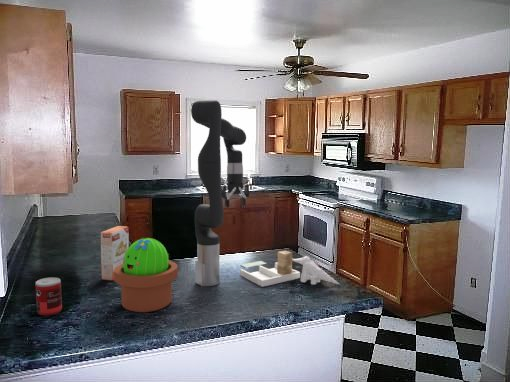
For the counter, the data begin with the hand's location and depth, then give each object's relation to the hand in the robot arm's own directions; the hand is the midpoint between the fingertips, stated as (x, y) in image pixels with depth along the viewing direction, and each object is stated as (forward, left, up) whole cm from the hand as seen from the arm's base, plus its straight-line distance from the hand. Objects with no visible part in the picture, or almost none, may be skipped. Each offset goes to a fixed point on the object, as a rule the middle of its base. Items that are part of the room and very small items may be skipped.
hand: (235, 206), depth 195 cm
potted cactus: (-51, -23, -29) cm, 63 cm away
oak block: (+8, -29, -27) cm, 41 cm away
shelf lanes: (+3, -25, -28) cm, 38 cm away
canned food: (-82, -12, -29) cm, 88 cm away
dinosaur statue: (+14, -41, -29) cm, 52 cm away
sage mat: (+8, -9, -28) cm, 31 cm away
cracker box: (-52, +14, -29) cm, 61 cm away
